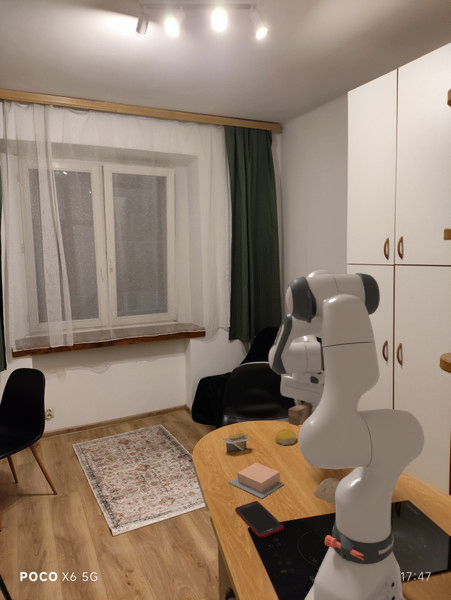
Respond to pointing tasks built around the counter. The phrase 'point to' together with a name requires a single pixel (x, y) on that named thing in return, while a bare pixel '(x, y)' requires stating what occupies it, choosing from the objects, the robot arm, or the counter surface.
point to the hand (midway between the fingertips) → (306, 412)
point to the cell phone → (259, 519)
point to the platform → (236, 442)
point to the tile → (258, 477)
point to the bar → (299, 413)
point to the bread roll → (285, 437)
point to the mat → (255, 492)
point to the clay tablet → (327, 490)
